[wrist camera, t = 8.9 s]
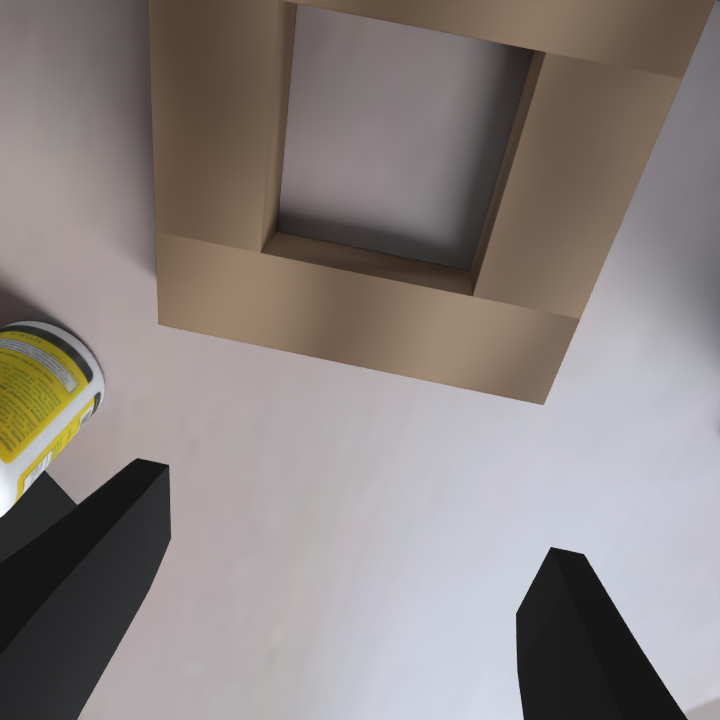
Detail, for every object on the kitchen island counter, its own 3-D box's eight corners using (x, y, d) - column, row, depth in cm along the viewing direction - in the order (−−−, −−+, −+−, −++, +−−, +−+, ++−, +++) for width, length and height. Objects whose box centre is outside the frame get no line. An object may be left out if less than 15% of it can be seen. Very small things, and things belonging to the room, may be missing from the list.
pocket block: (715, -81, 13) (755, -96, 12) (535, 372, 20) (543, 405, 18) (178, -182, 14) (141, -211, 12) (181, 299, 20) (158, 324, 19)
